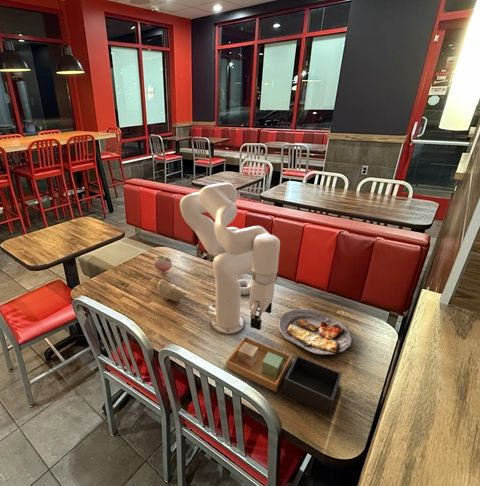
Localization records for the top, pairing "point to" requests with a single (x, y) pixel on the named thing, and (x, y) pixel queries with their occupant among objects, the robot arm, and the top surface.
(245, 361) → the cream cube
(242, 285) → the donut
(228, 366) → the brown wooden tray
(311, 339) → the food plate
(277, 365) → the sage cube
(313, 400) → the black basket
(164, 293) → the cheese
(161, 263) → the decorative fruit
